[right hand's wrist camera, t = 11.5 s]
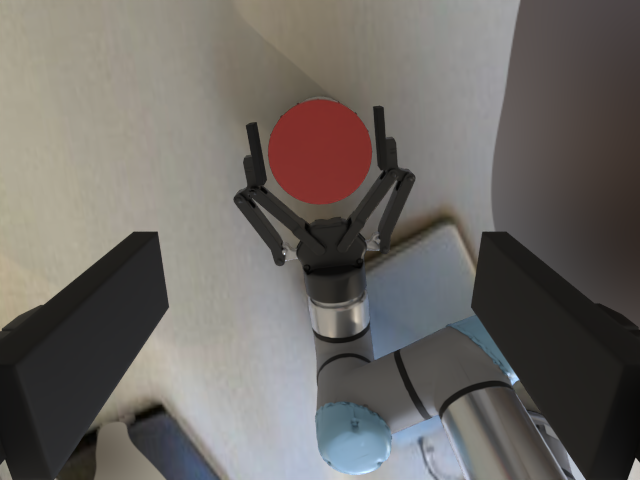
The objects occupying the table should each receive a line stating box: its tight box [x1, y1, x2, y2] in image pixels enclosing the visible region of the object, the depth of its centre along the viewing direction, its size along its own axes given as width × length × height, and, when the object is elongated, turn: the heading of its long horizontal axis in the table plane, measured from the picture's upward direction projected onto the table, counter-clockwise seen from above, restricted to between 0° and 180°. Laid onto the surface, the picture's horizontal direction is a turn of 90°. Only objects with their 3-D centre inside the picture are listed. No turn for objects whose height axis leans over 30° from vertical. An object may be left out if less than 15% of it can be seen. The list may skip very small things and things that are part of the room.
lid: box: [268, 98, 372, 204], centre depth 35 cm, size 9×9×2 cm
